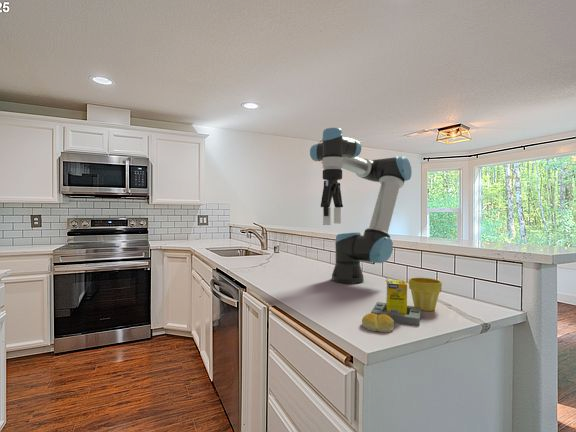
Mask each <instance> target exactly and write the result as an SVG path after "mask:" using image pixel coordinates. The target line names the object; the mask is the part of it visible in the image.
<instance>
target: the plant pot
mask: <svg viewBox="0 0 576 432" xmlns="http://www.w3.org/2000/svg"><path fill="white" fill-rule="evenodd" d="M442 285H443V284H442V281H441V280H439V279H436V278H435V279H434V278H430V277H420V276H419V277H410V278H409V279H408V289H409V290H410V292H411V296H412V302H413V306H414V307H421V311H424V312H431V311H432V312H433V311H436V306H437V302H438V300H439V299H438V298H439V295H440V293H441V292H442V289H443V288H442V287H443V286H442Z"/></svg>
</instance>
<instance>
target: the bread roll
mask: <svg viewBox="0 0 576 432" xmlns="http://www.w3.org/2000/svg"><path fill="white" fill-rule="evenodd" d="M361 324H362V326H363V328H364V329H366V330H369V331H371V332H379V333H390V332H393V331H394V329H395V322H394V320H393V319H392V318H391V317H390V316H388V315H386V314H380V315H377V314H374V313H371V312H370V313H366V314H365V315H364V316H363V317H362V319H361Z"/></svg>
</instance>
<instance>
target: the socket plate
mask: <svg viewBox="0 0 576 432" xmlns="http://www.w3.org/2000/svg"><path fill="white" fill-rule="evenodd" d="M370 313H374V314H377V315H380V314H386V315H388V316H390V317H391V318H392V319H393V320H394V323H402V324H408V325H412V326H413V325H415V326H420V323H421V314H422V310H421V307H414V305H413V306H412V305H407V315H405V314H397V313H390V312H386V302H381V301H377V302H376V303H375V305H374V306H373V308H372V309H371V311H370Z"/></svg>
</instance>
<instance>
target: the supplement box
mask: <svg viewBox="0 0 576 432" xmlns="http://www.w3.org/2000/svg"><path fill="white" fill-rule="evenodd" d="M385 303H386V311H385V312H390V313H397V314H405V315H408V314H407V306H408V283H407V281H406V280H399V279H398V280H396V279H386V302H385Z"/></svg>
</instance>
